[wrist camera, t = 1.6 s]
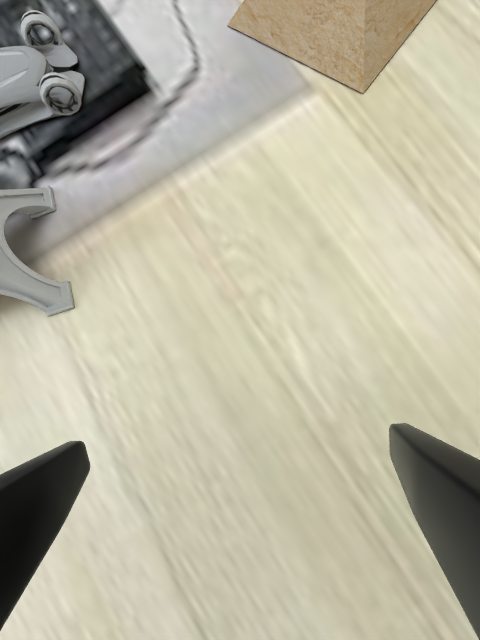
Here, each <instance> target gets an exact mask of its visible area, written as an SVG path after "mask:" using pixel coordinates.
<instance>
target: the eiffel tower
mask: <svg viewBox="0 0 480 640" xmlns="http://www.w3.org/2000/svg"><path fill="white" fill-rule="evenodd" d="M53 211H56V207H55V201H54V196H53V191H52V188H51V187H50V186H47V187H44V188H31V189H11V190H0V295H6V296H10V297H14V298H17V299H20V300H23V301H25V302H28V303H30V304H32V305H34V306H36V307H38V308H40V309H41V310H43V311H45V315H46V316H51V315H54V314H57V313H60V312H63V311H66V310H69V309H72V308H74V303H73V297H72V292H71V287H70V282H68V281H65V282H58V281H55V280H52V279H49V278H46V277H44V276H42V275H40V274H38V273H36V272H35V271H33V270H31V269H30V268H28V267H27V266H26V265H25V264H23V263H22V262H21V261H20V260H19V259H18V258H17V257H16V256H15V255H14V254H13V252H12V251H11V249H10V248H9V246H8V244H7V242H6V240H5V236H4V223H5V221H6V219H7V217H8V216H9V215H10V214H11V213H12V212H23V213H27V214H29V217H30V218H32V219H34V218H36V217H39V216H42V215H45V214H47V213H50V212H53Z"/></svg>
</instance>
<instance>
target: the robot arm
mask: <svg viewBox="0 0 480 640" xmlns="http://www.w3.org/2000/svg"><path fill="white" fill-rule="evenodd" d="M389 442H390V456H391V460H392V462H393V465H394V467H395V470H396V472H397V475H398V477H399V480H400V482H401V485H402V487H403V490H404V492H405V495H406V497H407V500H408V502H409V504H410V507H411V509H412V512H413V514H414V516H415V518H416V520H417V522H418V524H419V526H420V528H421V530H422V532H423V534H424V536H425V538H426V540H427V542H428V544H429V545H430V547H431V549H432V551H433V553H434V555H435V557H436V559H437V561H438V562H439V564H440V566H441V568H442V570H443V572H444V574H445V576H446V578H447V580H448V581H449V583H450V585H451V587H452V589H453V591H454V593H455V595H456V597H457V598H458V600H459V602H460V604H461V606H462V608H463V610H464V612H465V614H466V616H467V617H468V619H469V621H470V623H471V625H472V627H473V629H474V631H475V633H476V634H477V636H478V638H479V640H480V460H479V459H477V458H475V457H473V456H471V455H469V454H467V453H465V452H463V451H461V450H459V449H457V448H455V447H453V446H451V445H449V444H447V443H445V442H443V441H441V440H439V439H437V438H435V437H433V436H431V435H429V434H427V433H425V432H423V431H421V430H419V429H417V428H415V427H413V426H411V425H409V424H406V423H401V424H391V425H390V428H389ZM89 470H90V462H89V458H88V454H87V451H86V447H85V444H84V443H83V442H82V441H70V442H67V443H65V444H63V445H61V446H59V447H56V448H54V449H52V450H50V451H48V452H46V453H44V454H42V455H40V456H38V457H36V458H34V459H32V460H30V461H28V462H25V463H23V464H21V465H19V466H17V467H15V468H13V469H11V470H9V471H7V472H5V473H3V474H1V475H0V631H1V629H2V627H3V625H4V624H5V622H6V620H7V619H8V617H9V615H10V614H11V612H12V610H13V609H14V607H15V605H16V604H17V602H18V600H19V599H20V597H21V595H22V593H23V592H24V590H25V588H26V587H27V585H28V583H29V582H30V580H31V578H32V577H33V575H34V573H35V572H36V570H37V568H38V566H39V565H40V563H41V561H42V560H43V558H44V556H45V555H46V553H47V551H48V550H49V548H50V546H51V545H52V543H53V541H54V540H55V538H56V536H57V534H58V533H59V531H60V529H61V528H62V526H63V524H64V522H65V520H66V518H67V516H68V514H69V512H70V510H71V508H72V506H73V504H74V502H75V500H76V498H77V496H78V494H79V492H80V490H81V488H82V486H83V484H84V482H85V480H86V477H87V475H88V473H89Z"/></svg>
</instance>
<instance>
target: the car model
mask: <svg viewBox="0 0 480 640" xmlns="http://www.w3.org/2000/svg"><path fill="white" fill-rule="evenodd" d="M35 25H42V26H44V27H46V28H48V29H49V30H50V31H51V33H52V35H53V37H52V40H51V41H50V42H49V43H48V44H41V43H39V42H37V41H36V40H35V39H34V38H33V37H32V36H31V35H30V31H31V28H32V27H33V26H35ZM21 33H22V35H23V38H24V40H25V41H26V42H27V44H28V45H29V46H13V47H4V48H0V138H2V137H4V136H6V135H8V134H10V133H12V132H14V131H17V130H19V129H21V128H24V127H26V126H29V125H31V124H33V123H36V122H39V121H42V120H46V119H49V118H52V117H56V116H62V115H72V114H74V113H76V112H77V111H79V108H80V106H81V99H82V94H83V89H84V82H85V78H84V77H83V75H82V74H81V73H78V72H75V71H71V70H72V69H73V68H74V67H75V66H76V65H77V64H78V58H77V56H76V55H75V54H74V53H73V52H72V51H71V50H70V48H69V47H68V46H67V45H66V44H65V43H64V41H63V38H62V36H61V34H60V31H59V29H58V27H57V26H56V25H55V24H54V22H53V21H52V20H51V19H50V18H49V17H48V16H47V15H45V14H44V13H42V12H39V11H36V10H33V11H28V12H27V13H25V14H24V15H23V17H22V20H21Z"/></svg>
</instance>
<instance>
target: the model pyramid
mask: <svg viewBox="0 0 480 640" xmlns="http://www.w3.org/2000/svg"><path fill="white" fill-rule="evenodd" d="M435 1H436V0H244V2H243V3H242V5H241V6H240V7H239V9H238V10H237V12H236V13H235V15H234V16H233V17H232V19H231V20H230V22H229V23H228V24H227V25H228V26H230V27H232V28H234V29H236V30H238V31H240V32H242V33H244V34H246V35H248V36H250V37H252V38H254V39H256V40H258V41H260V42H262V43H264V44H266V45H268V46H270V47H272V48H274V49H276V50H278V51H280V52H282V53H284V54H286V55H288V56H290V57H292V58H294V59H296V60H298V61H300V62H302V63H304V64H306V65H308V66H310V67H312V68H314V69H316V70H318V71H320V72H322V73H324V74H326V75H327V76H329V77H331V78H333V79H335V80H337V81H339V82H341V83H343V84H345V85H347V86H349V87H351V88H353V89H355V90H357V91H359V92H361V93H364V92H365V90H366V89H367V88H368V86H369V85H370V84H371V83H372V81H373V80H374V79H375V78H376V76H377V75H378V74H379V73H380V71H381V70H382V69H383V67H384V66H385V65H386V64H387V62H388V61H389V60H390V59H391V57H392V56H393V55H394V53H395V52H396V51H397V50H398V48H399V47H400V46H401V45H402V43H403V42H404V41H405V39H406V38H407V37H408V36H409V34H410V33H411V32H412V31H413V29H414V28H415V27H416V25H417V24H418V23H419V22H420V20H421V19H422V18H423V17H424V15H425V14H426V13H427V12H428V10H429V9H430V8H431V6H432V5H433V4H434V3H435Z"/></svg>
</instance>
